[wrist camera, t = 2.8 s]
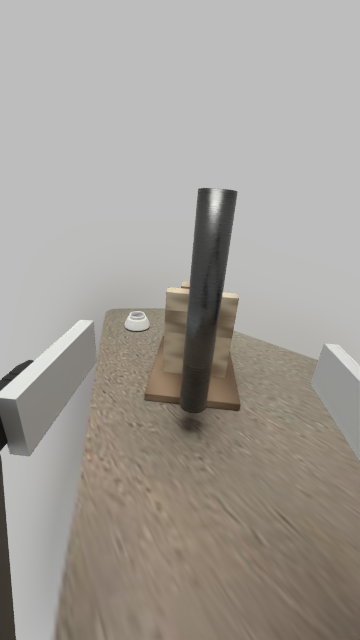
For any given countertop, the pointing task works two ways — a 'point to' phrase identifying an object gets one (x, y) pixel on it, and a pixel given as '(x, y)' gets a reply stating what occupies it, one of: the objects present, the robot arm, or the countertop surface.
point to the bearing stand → (171, 352)
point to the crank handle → (205, 293)
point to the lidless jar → (137, 321)
